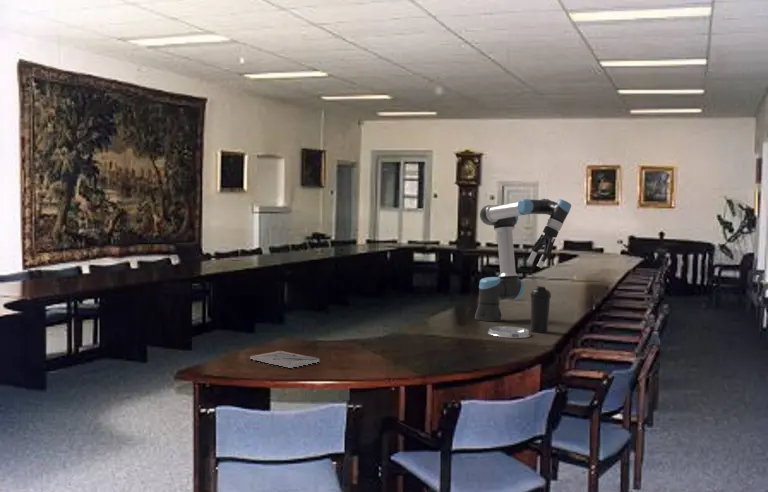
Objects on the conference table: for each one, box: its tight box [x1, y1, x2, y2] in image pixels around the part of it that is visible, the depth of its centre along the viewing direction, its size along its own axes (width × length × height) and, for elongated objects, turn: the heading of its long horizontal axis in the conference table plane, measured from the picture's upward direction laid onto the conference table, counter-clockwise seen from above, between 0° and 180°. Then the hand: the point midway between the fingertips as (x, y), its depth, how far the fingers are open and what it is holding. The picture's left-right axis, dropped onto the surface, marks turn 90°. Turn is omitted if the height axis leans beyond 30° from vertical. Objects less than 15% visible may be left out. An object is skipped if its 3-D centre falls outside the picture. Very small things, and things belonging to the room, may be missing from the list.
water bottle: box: [530, 285, 552, 334], centre depth 404 cm, size 10×10×23 cm
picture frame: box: [250, 350, 320, 369], centre depth 310 cm, size 16×2×22 cm
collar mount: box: [487, 325, 531, 339], centre depth 393 cm, size 21×21×2 cm
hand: (534, 265), depth 411 cm, fingers open, 13 cm apart
